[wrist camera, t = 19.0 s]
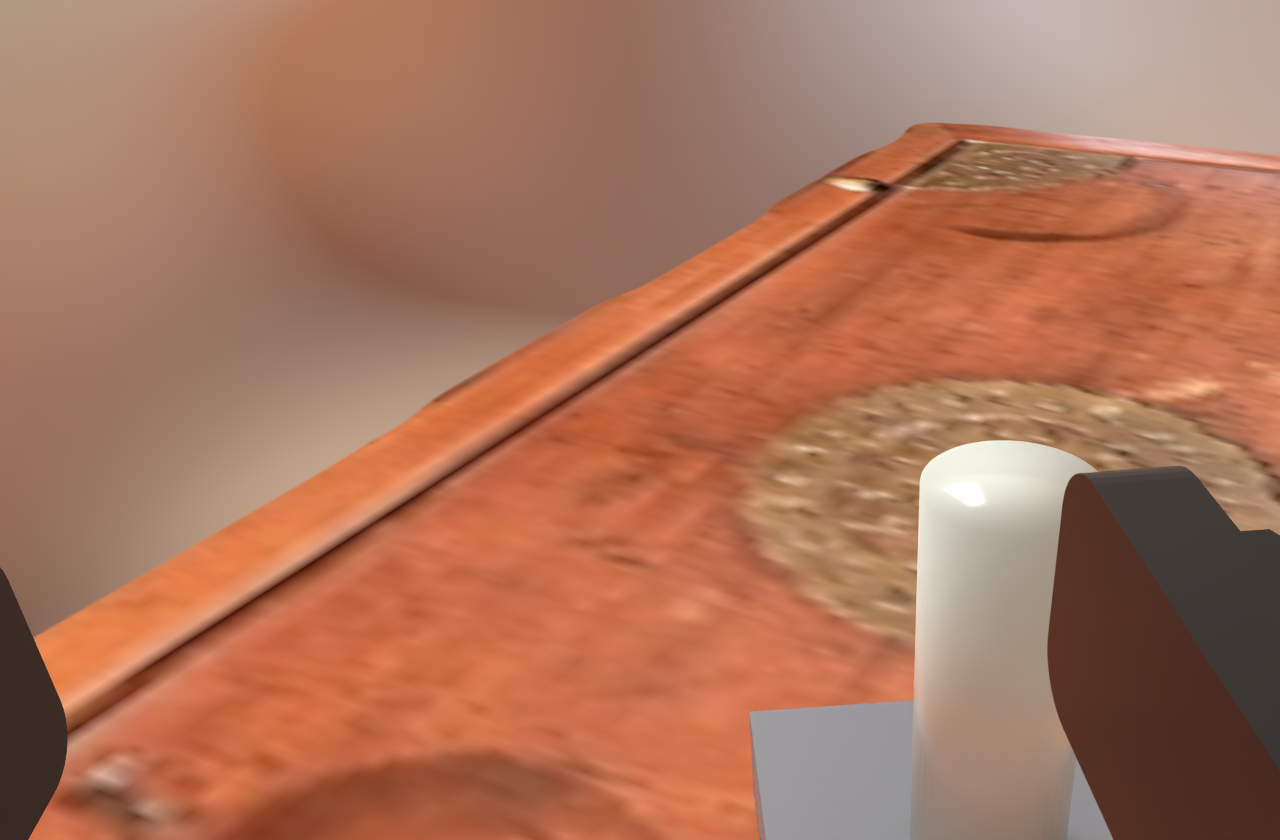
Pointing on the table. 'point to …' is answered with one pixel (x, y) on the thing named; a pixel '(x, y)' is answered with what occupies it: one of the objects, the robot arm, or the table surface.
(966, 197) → the table surface
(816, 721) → the slate plinth
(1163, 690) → the robot arm
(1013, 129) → the table surface
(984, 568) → the white cylinder
